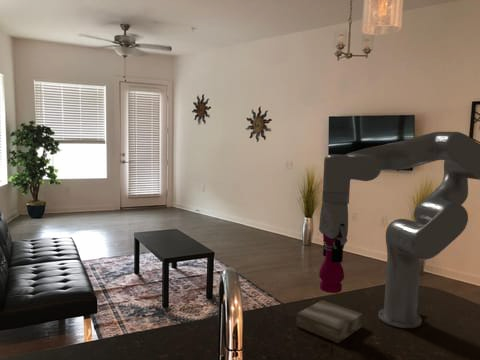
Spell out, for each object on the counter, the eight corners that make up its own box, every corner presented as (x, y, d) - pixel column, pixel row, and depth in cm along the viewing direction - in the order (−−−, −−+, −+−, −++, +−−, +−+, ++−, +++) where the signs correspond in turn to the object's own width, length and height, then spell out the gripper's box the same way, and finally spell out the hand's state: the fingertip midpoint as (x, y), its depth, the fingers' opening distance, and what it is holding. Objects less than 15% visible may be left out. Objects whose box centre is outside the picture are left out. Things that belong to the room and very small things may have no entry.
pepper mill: (343, 295, 118) (347, 226, 115) (318, 292, 119) (321, 224, 117) (342, 286, 125) (346, 221, 122) (318, 283, 126) (321, 219, 124)
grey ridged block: (321, 312, 133) (322, 300, 133) (362, 326, 124) (362, 313, 123) (296, 326, 123) (296, 313, 122) (338, 343, 113) (338, 329, 113)
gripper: (312, 193, 126) (309, 251, 128) (336, 202, 110) (332, 268, 112) (335, 193, 128) (332, 250, 130) (362, 202, 111) (358, 267, 113)
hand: (332, 258), depth 121 cm, fingers closed on pepper mill, 5 cm apart
